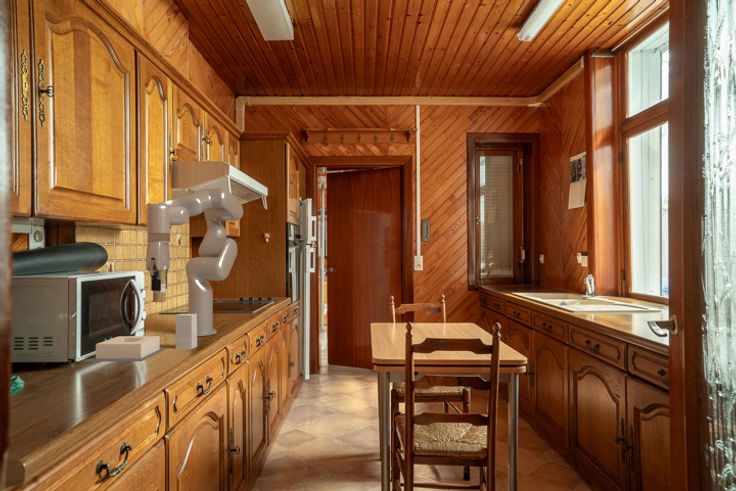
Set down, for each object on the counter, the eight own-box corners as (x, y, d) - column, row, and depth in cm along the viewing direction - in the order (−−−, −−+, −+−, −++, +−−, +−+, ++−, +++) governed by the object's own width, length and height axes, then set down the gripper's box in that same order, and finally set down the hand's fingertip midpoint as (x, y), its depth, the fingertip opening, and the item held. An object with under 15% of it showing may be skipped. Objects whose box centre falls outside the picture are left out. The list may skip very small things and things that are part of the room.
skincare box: (197, 347, 169) (197, 313, 169) (191, 350, 164) (191, 315, 164) (180, 347, 169) (181, 313, 169) (174, 349, 165) (175, 315, 165)
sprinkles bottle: (167, 301, 170) (167, 264, 170) (153, 302, 167) (153, 264, 167) (164, 300, 173) (164, 263, 173) (151, 301, 171) (151, 264, 171)
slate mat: (115, 349, 165) (115, 348, 165) (167, 349, 166) (167, 348, 166) (81, 362, 145) (81, 361, 145) (141, 362, 146) (141, 361, 146)
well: (118, 349, 163) (118, 336, 163) (159, 349, 164) (159, 336, 164) (95, 358, 149) (95, 344, 149) (140, 358, 150) (141, 344, 150)
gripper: (158, 239, 179) (158, 287, 179) (137, 238, 162) (137, 292, 162) (178, 239, 179) (178, 287, 179) (159, 238, 162) (159, 292, 162)
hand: (159, 289), depth 170 cm, fingers closed on sprinkles bottle, 4 cm apart
